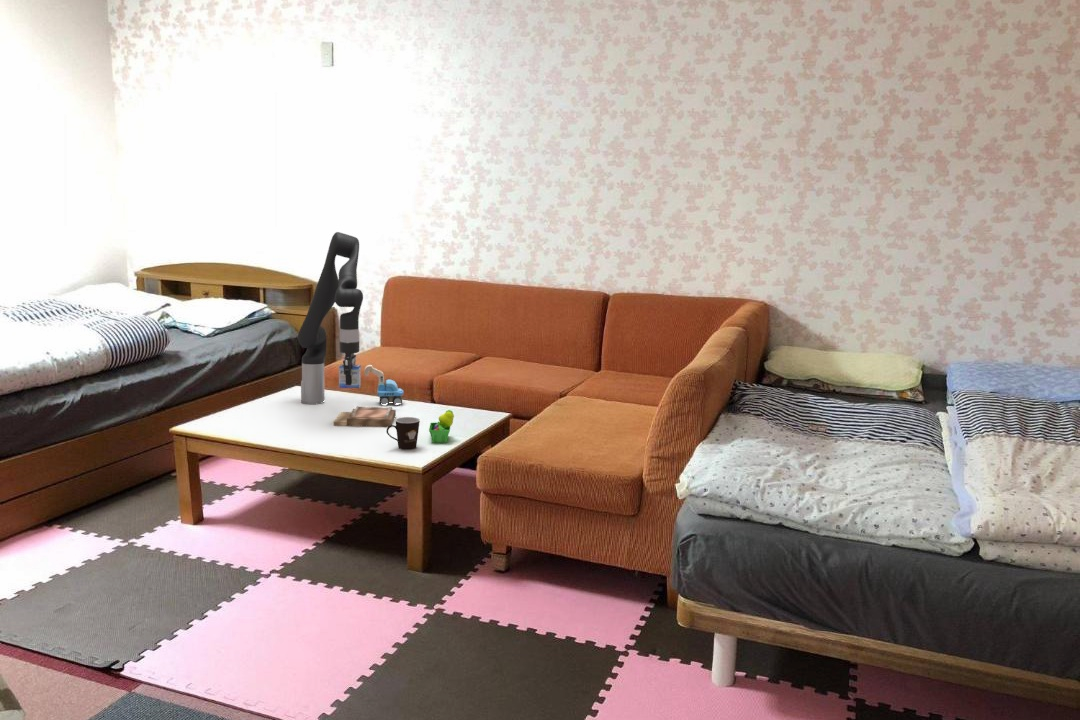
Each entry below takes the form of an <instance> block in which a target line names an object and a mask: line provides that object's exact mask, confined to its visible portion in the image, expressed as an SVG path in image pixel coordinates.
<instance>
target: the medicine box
mask: <svg viewBox="0 0 1080 720" xmlns="http://www.w3.org/2000/svg"><path fill="white" fill-rule="evenodd" d="M350 367H351V366H350ZM361 369H362V368H361V364H356V365H353V369H352V384H351V385H346V375H344V367H343V364H340V365H338V388H339V389H360V387H361V386H362V385H361V382H362V381H361V379H362V378H361V375H362V374H361V373H362V372H361V371H362V370H361ZM347 371H349V370H348V369H347Z"/></svg>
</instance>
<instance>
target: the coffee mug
mask: <svg viewBox="0 0 1080 720" xmlns="http://www.w3.org/2000/svg"><path fill="white" fill-rule="evenodd" d="M394 422H395V424H392V425H391V426H389V427H386V434H387V435H388V436H389V437H390V438H391V439H393V440H394V441H396V442H397V446H398V447H397V448H398V449H401V450H404V451H406V450H415V449H416V448H417V444H418V438H419V436H418V435H419V430H420V419H419V418H417V417H413V416H412V417H410V416H404V417H403V416H402V417H401V416H400V417H398V418H395V419H394ZM390 428H395V430H396V436H397V437H394V436H392V435H391V434H390V433H389V430H390Z"/></svg>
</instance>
